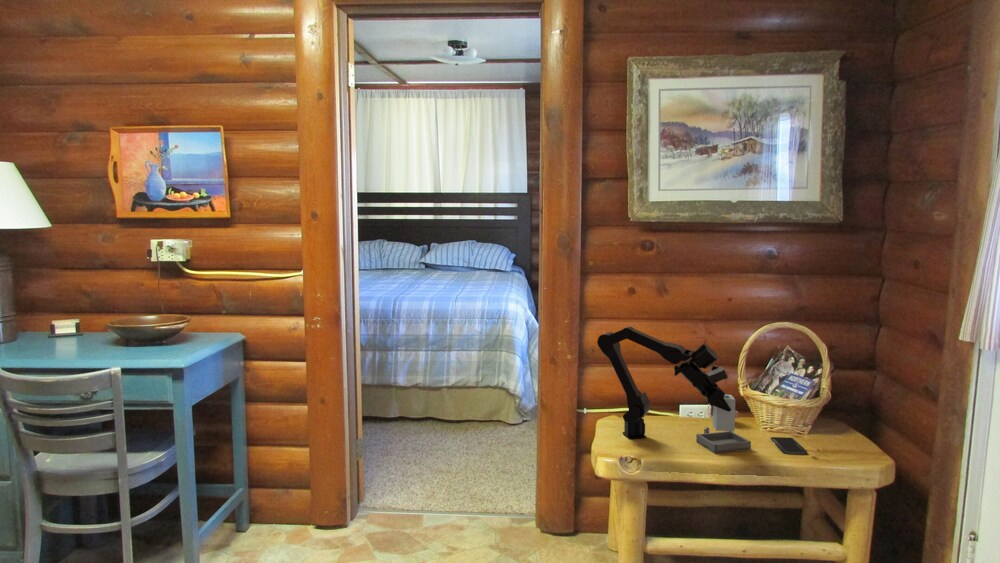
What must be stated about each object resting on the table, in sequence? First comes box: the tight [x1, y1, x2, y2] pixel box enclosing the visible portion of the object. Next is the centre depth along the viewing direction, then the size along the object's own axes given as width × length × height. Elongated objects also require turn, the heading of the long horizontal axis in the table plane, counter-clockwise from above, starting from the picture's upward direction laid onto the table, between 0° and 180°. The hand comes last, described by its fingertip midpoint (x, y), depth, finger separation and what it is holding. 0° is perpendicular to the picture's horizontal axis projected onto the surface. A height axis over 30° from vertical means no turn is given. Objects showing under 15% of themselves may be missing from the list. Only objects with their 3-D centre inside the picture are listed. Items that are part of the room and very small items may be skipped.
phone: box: [770, 436, 808, 456], centre depth 222 cm, size 8×1×15 cm
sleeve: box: [712, 394, 739, 432], centre depth 222 cm, size 8×6×11 cm
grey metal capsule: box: [703, 426, 710, 434], centre depth 234 cm, size 2×2×3 cm
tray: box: [695, 431, 752, 454], centre depth 223 cm, size 14×12×3 cm
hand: (728, 408), depth 222 cm, fingers closed on sleeve, 6 cm apart
